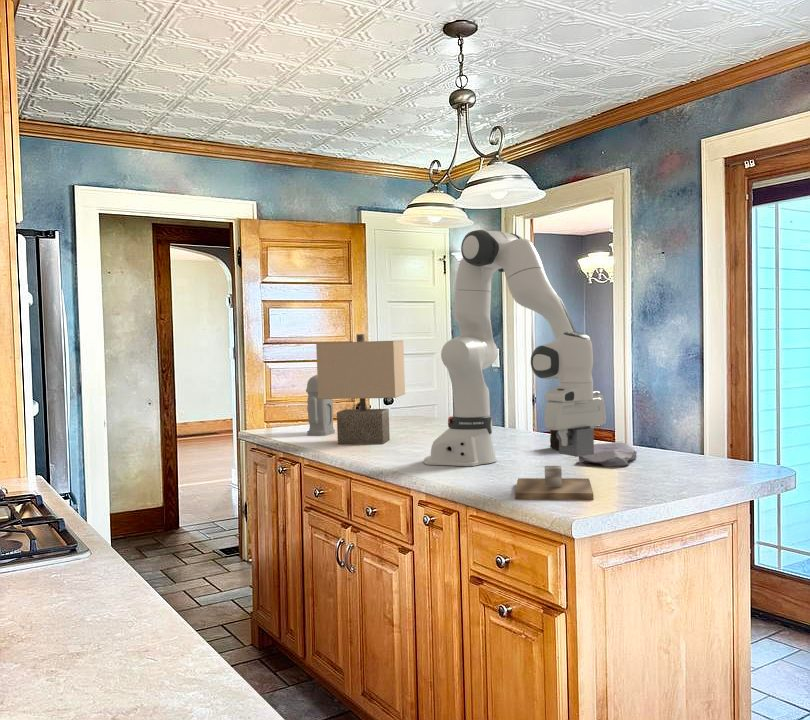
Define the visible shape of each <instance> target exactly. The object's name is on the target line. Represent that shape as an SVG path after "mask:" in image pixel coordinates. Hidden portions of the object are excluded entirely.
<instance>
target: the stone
mask: <svg viewBox="0 0 810 720" xmlns="http://www.w3.org/2000/svg"><path fill="white" fill-rule="evenodd" d="M634 448H635V447H633V446H632V445H630V444H628V443H626V442H610V443H609V442H608V443H596V444H595V443H594V454H592V455H585V456H579V457H578V460H579V461H581V462H582V463H587V464H599V465H602V466H604V467H625V466H627V467H628V466H629V465H630V463H629V461H634V460H636V459H637V453H638V452H637V451H636V449H634Z"/></svg>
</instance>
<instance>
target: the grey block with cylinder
mask: <svg viewBox="0 0 810 720" xmlns="http://www.w3.org/2000/svg"><path fill="white" fill-rule="evenodd" d="M594 432H595V427H594V428H589V427H579V428H571V429H568V433H566V435H567V437H568V439H570V445H569V446H562V439H561V437H560V435H559V433H558V431H557V433H556V437H557V439H559V450H558V454H560V455H565V456H571V457H577V458H579V456H585V455H592V454H594V444H595V440H594V439H595V436H594V435H595V433H594Z"/></svg>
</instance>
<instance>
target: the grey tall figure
mask: <svg viewBox="0 0 810 720" xmlns="http://www.w3.org/2000/svg"><path fill="white" fill-rule="evenodd" d="M306 383H307V384H306V390H305V392H306V393H307V396H308V397H307V398H306V399H307V407H306V410H307V418H308V419H307V420H308V423H309V429H308V430H307V433H306V434H307V436H311V437H312V436H315V437H316V436H320V437H321V436H322V437H325V436H329V435H332V434H335V433H336V431H335V428H334V405H333V404H334V401H333V400H334V399H318V378H317V374H315V375H313V376H312V377H310V378H309V379H308V380H307V382H306Z"/></svg>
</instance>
